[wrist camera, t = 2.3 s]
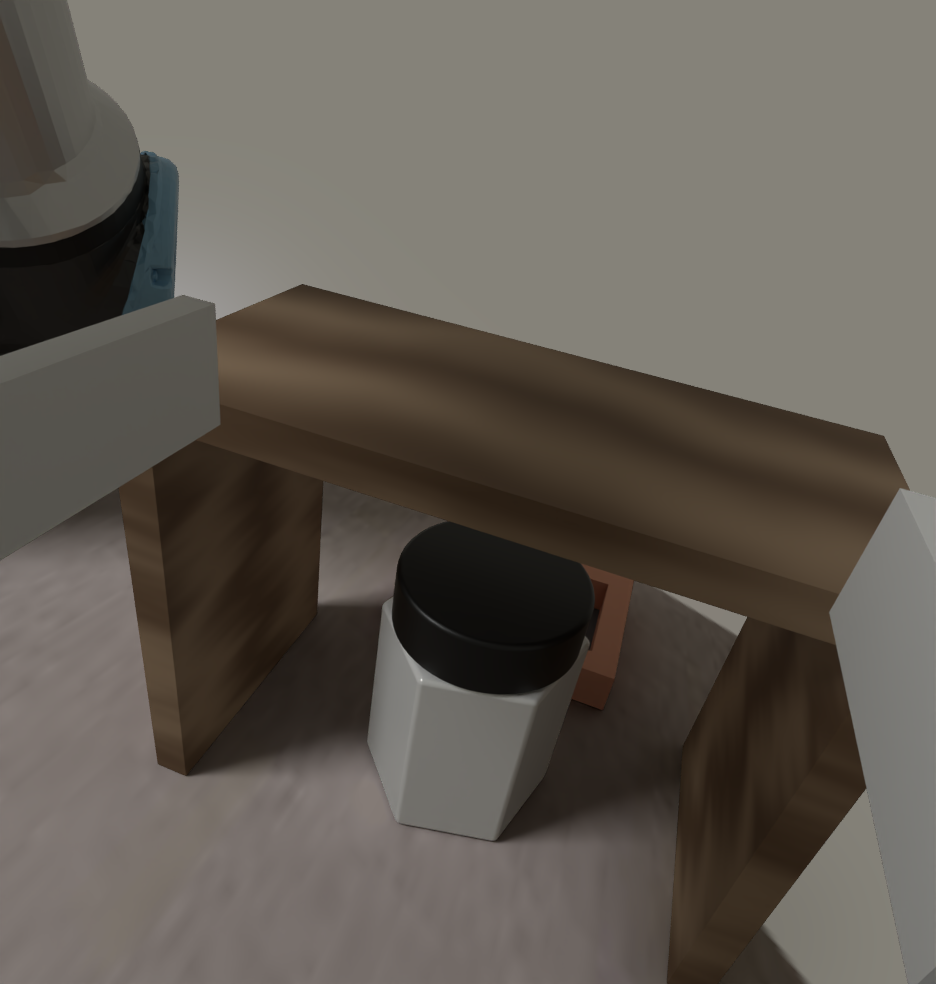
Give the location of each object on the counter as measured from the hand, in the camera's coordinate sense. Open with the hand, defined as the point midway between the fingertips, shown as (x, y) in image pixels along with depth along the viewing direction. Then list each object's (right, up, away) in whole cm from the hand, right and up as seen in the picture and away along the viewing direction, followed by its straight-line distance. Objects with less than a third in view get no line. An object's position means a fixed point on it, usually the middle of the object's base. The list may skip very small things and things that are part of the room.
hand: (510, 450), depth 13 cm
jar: (-1, -14, +21) cm, 25 cm away
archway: (-1, -14, +21) cm, 25 cm away
